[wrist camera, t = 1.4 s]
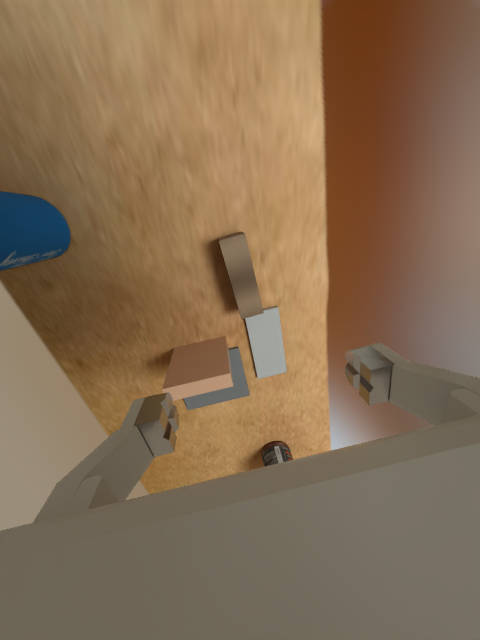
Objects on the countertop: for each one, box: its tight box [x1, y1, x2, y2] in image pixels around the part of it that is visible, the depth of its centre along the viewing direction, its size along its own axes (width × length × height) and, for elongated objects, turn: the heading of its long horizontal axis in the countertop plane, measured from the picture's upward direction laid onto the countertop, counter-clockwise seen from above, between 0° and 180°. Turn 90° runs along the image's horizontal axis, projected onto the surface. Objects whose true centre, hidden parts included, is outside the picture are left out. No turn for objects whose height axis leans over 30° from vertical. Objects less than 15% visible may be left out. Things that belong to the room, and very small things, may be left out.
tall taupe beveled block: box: [218, 232, 264, 319], centre depth 28 cm, size 10×3×4 cm, turn 15°
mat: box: [169, 347, 249, 410], centre depth 36 cm, size 10×11×1 cm
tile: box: [162, 336, 233, 401], centre depth 30 cm, size 2×8×9 cm, turn 102°
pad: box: [245, 306, 287, 379], centre depth 35 cm, size 12×5×1 cm, turn 12°
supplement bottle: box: [262, 442, 293, 467], centre depth 41 cm, size 6×6×11 cm
